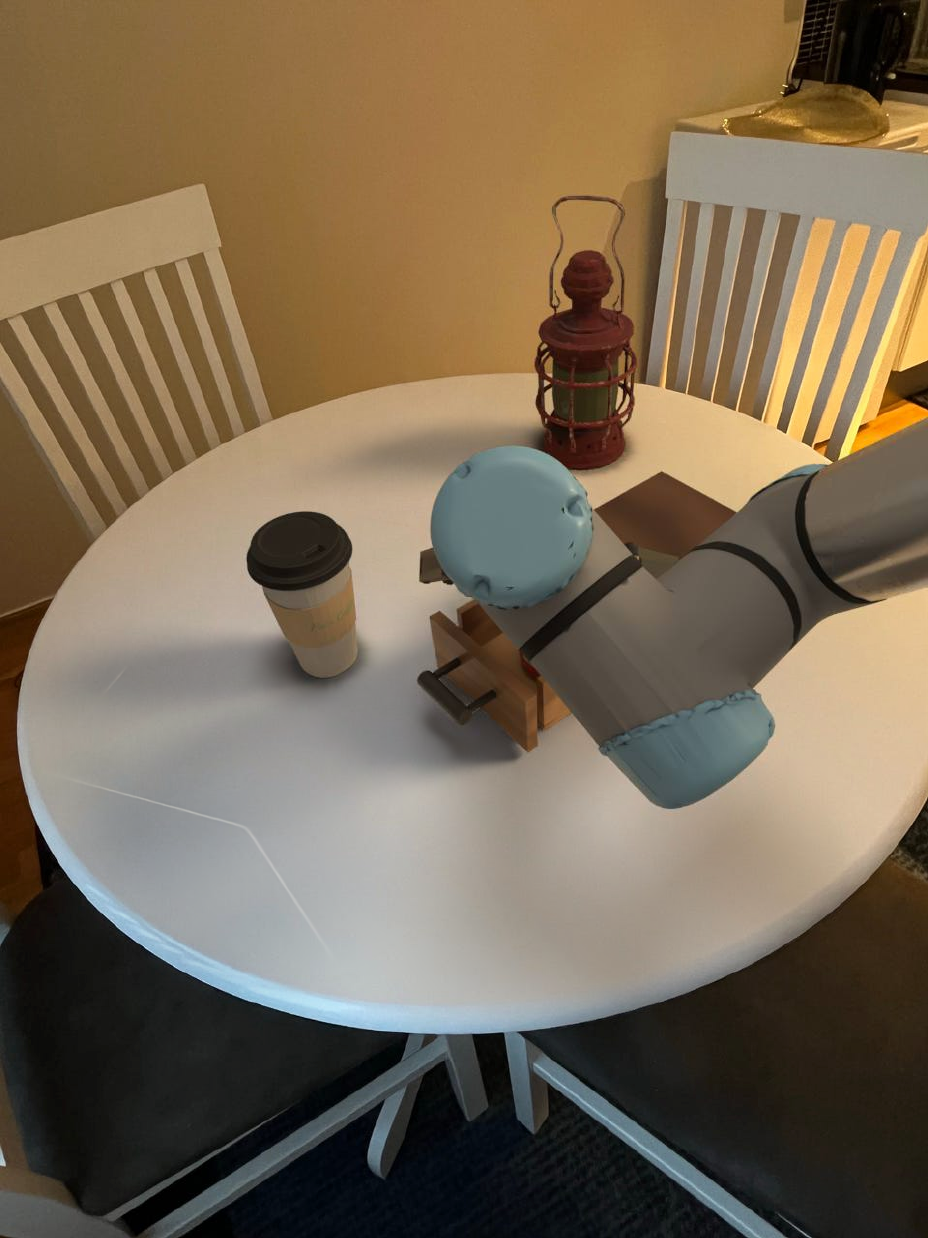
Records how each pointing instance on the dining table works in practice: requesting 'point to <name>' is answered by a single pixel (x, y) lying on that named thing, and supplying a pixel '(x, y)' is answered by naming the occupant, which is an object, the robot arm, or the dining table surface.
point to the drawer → (488, 677)
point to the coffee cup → (308, 588)
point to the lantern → (585, 361)
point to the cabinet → (664, 515)
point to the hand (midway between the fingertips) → (551, 576)
